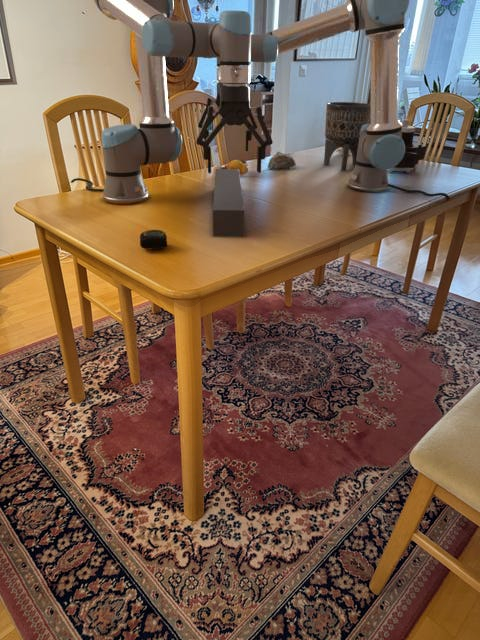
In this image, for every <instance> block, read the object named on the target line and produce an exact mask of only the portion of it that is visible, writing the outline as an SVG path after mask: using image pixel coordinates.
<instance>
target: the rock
mask: <svg viewBox="0 0 480 640" xmlns="http://www.w3.org/2000/svg"><path fill="white" fill-rule="evenodd" d="M296 164H297V163H296V159H294V157H292V156H291V155H288V154H286V153H283V152H281V151H277V152H276V153H275V154H274V155H273V156H272V157H271V158H270V159H269V161H268V164H267V168H268V169H269V170H271V169H272V170H274V171H282V170H290V169H291V168H293V167H296V166H297V165H296Z"/></svg>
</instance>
